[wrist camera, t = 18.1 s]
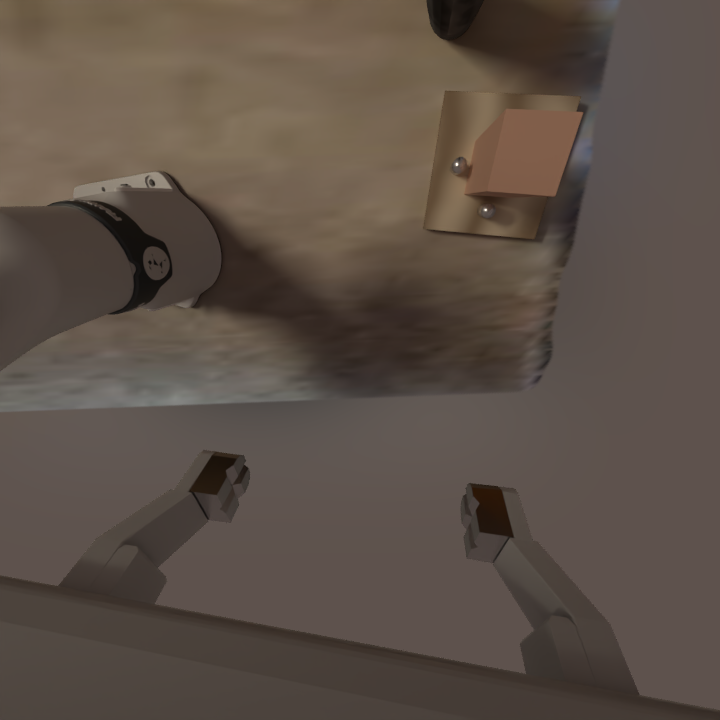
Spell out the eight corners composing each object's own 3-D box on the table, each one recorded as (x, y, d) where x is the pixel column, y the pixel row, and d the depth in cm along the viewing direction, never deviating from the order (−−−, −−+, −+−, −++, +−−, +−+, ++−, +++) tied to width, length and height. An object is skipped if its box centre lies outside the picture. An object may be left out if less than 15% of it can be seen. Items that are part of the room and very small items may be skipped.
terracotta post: (464, 194, 35) (486, 191, 23) (475, 141, 32) (506, 108, 21) (509, 197, 34) (555, 196, 23) (523, 143, 32) (583, 112, 20)
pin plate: (423, 227, 38) (423, 230, 34) (444, 95, 32) (448, 80, 28) (530, 237, 37) (543, 242, 33) (574, 100, 30) (597, 86, 27)
